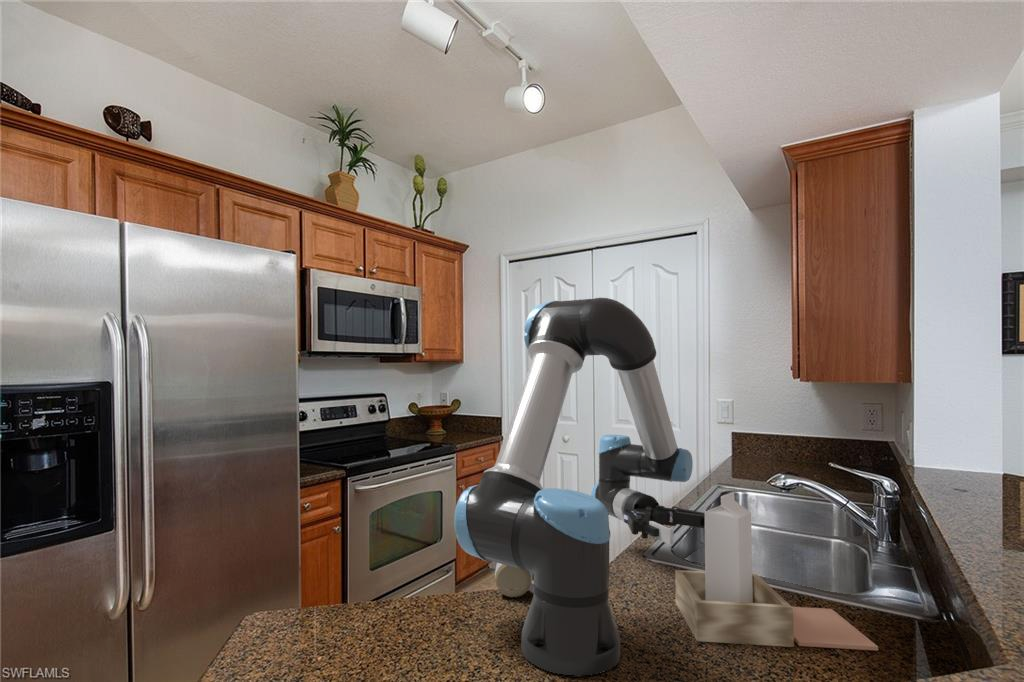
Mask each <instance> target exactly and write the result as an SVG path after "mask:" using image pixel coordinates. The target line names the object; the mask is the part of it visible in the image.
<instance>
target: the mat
mask: <svg viewBox="0 0 1024 682" xmlns="http://www.w3.org/2000/svg"><path fill="white" fill-rule="evenodd" d="M792 607H793V626H794V643H796V644H797V646H799V647H811V648H826V649H827V648H829V649H831V648H832V649H844V650H846V649H847V650H862V651H879V646H878V645H877V644H876V643H874V642H873V641H872V640H870V639H869V637H867V636H865V635H864V634H863V633H862V632H861V631H859V629H857V628H856V627H854V626H853V625H852V624H851V623H850V622H848V620H846V619H845V618H843V617H842V616H841V615H840V614H839V613H837V612H836V611H835V610H834V609H832V608H823V607H807V606H805V607H804V606H792Z"/></svg>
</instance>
